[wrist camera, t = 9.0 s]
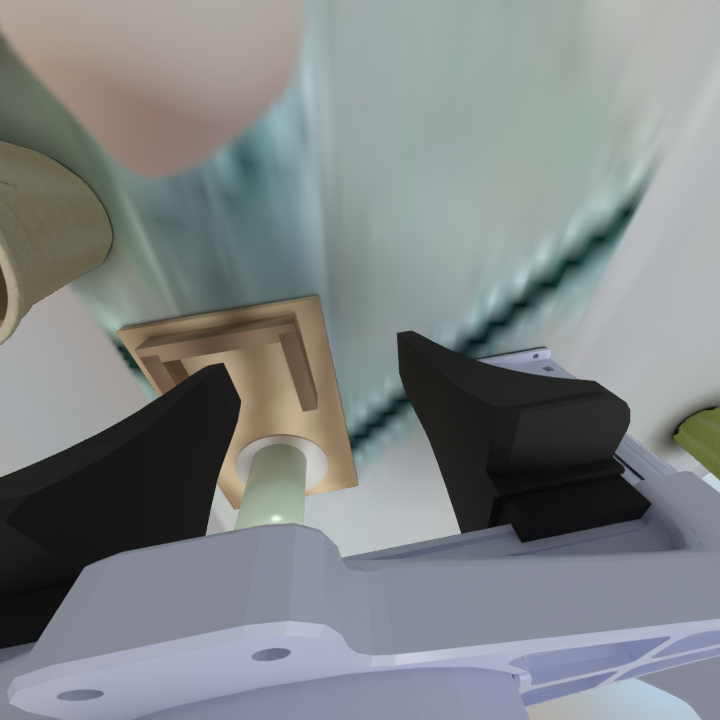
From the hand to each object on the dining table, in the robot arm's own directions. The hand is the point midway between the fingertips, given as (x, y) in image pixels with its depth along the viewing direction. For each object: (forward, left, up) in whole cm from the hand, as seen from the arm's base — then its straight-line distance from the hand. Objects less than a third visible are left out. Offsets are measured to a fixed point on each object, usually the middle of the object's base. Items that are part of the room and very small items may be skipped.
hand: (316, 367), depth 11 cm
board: (+7, +11, -10) cm, 16 cm away
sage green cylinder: (+7, +17, -9) cm, 20 cm away
